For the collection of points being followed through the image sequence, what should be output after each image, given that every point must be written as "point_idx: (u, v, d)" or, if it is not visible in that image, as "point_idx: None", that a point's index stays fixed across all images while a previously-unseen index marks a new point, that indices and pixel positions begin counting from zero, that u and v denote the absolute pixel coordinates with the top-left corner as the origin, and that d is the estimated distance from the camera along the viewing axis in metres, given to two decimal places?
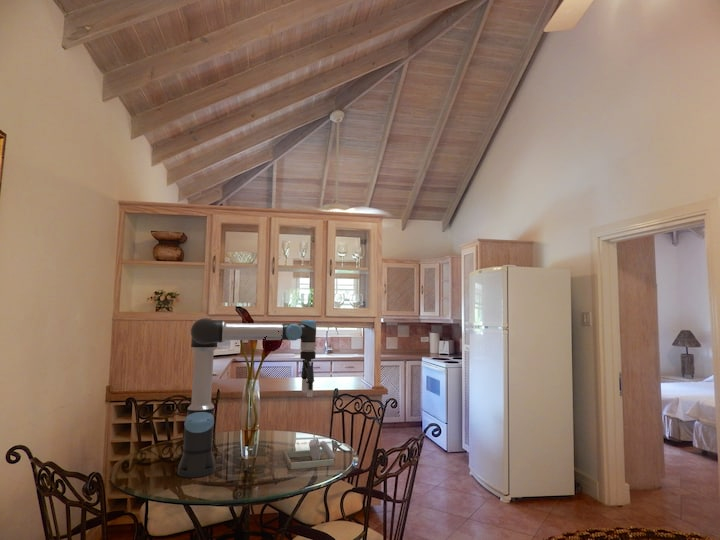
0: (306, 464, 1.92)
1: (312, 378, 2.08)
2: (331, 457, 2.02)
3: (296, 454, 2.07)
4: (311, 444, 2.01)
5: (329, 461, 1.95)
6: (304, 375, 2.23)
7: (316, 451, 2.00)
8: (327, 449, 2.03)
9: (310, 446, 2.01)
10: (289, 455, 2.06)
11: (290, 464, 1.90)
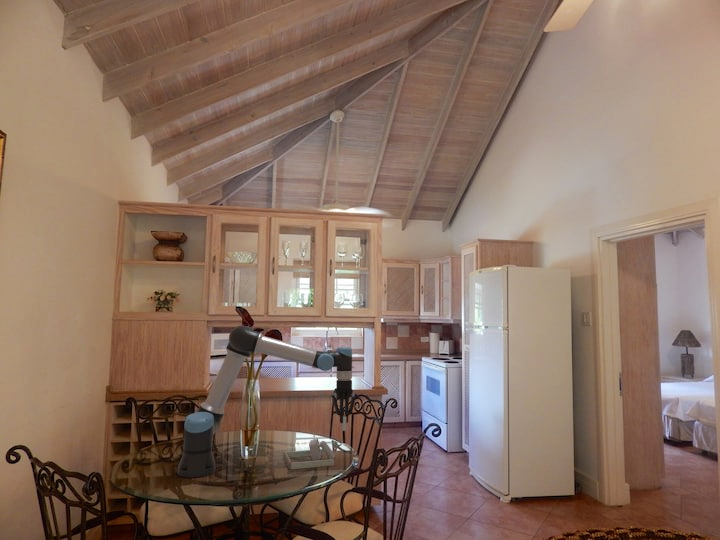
0: (306, 464, 1.92)
1: (336, 412, 2.08)
2: (331, 457, 2.02)
3: (296, 454, 2.07)
4: (311, 444, 2.01)
5: (329, 461, 1.95)
6: (345, 409, 2.10)
7: (316, 451, 2.00)
8: (327, 449, 2.03)
9: (310, 446, 2.01)
10: (289, 455, 2.06)
11: (290, 464, 1.90)
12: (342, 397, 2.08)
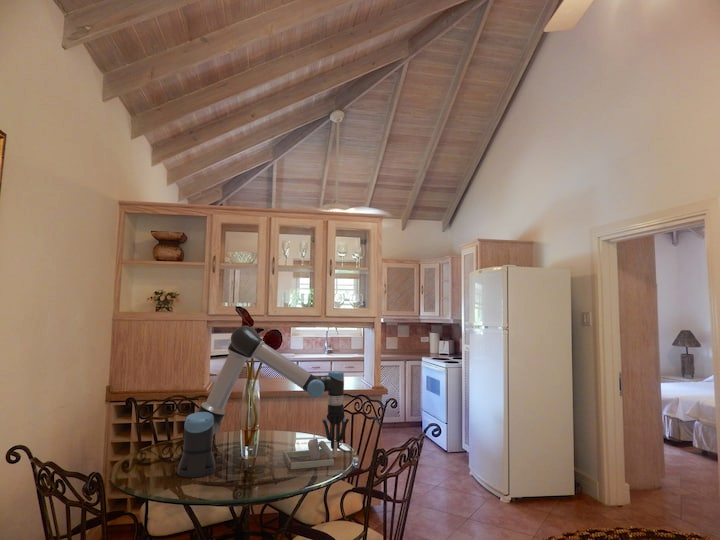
0: (306, 464, 1.92)
1: (327, 437, 2.05)
2: (330, 457, 2.02)
3: (296, 454, 2.07)
4: (310, 444, 2.01)
5: (329, 461, 1.95)
6: (336, 434, 2.08)
7: (315, 451, 2.00)
8: (326, 449, 2.03)
9: (309, 446, 2.01)
10: (289, 455, 2.06)
11: (290, 464, 1.90)
12: (333, 422, 2.06)
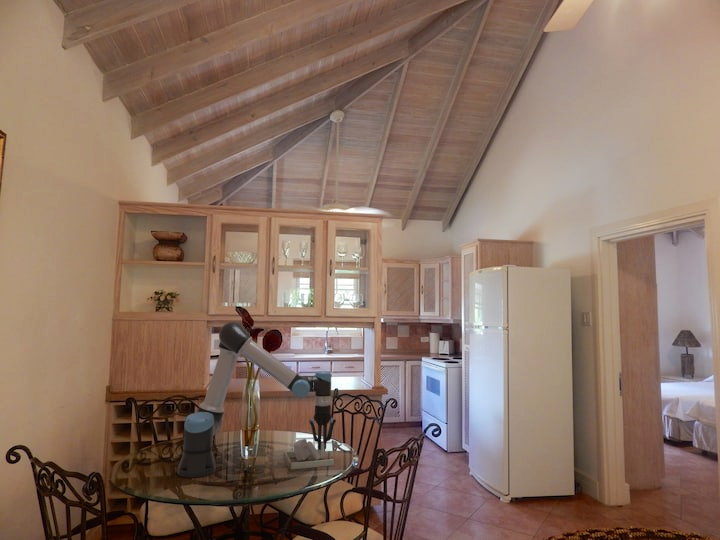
0: (306, 464, 1.92)
1: (314, 438, 2.03)
2: (316, 458, 2.00)
3: None
4: (296, 444, 2.01)
5: (329, 461, 1.95)
6: (323, 435, 2.06)
7: (300, 451, 2.00)
8: (312, 450, 2.01)
9: (295, 446, 2.01)
10: (289, 455, 2.06)
11: (290, 464, 1.90)
12: (320, 423, 2.04)
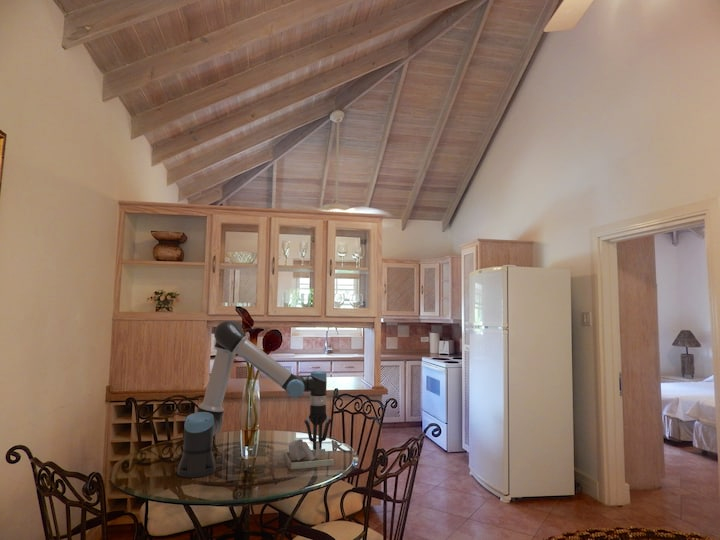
0: (306, 464, 1.92)
1: (309, 438, 2.03)
2: (310, 459, 1.99)
3: None
4: (290, 444, 2.01)
5: (329, 461, 1.95)
6: (318, 435, 2.05)
7: (294, 451, 2.00)
8: (306, 450, 2.00)
9: (289, 446, 2.01)
10: (289, 455, 2.06)
11: (290, 464, 1.90)
12: (315, 423, 2.03)
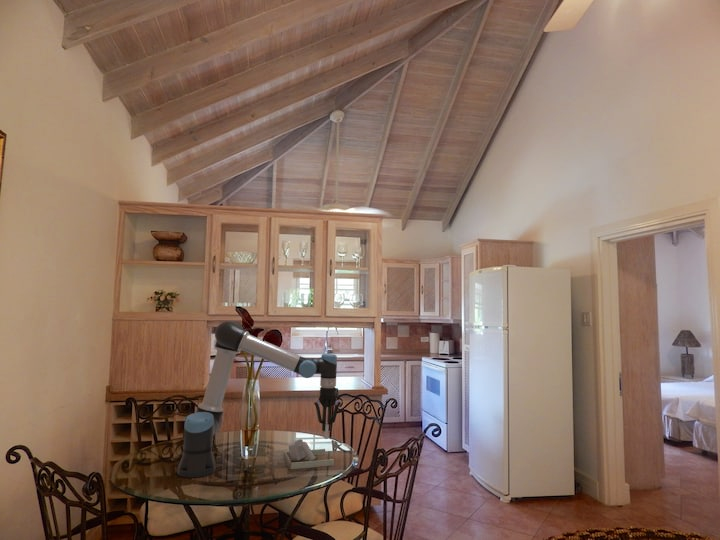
0: (306, 464, 1.92)
1: (319, 419, 2.05)
2: (310, 459, 1.99)
3: None
4: (290, 444, 2.01)
5: (329, 461, 1.95)
6: (328, 417, 2.07)
7: (294, 451, 2.00)
8: (306, 450, 2.00)
9: (289, 446, 2.01)
10: (289, 455, 2.06)
11: (290, 464, 1.90)
12: (325, 405, 2.05)
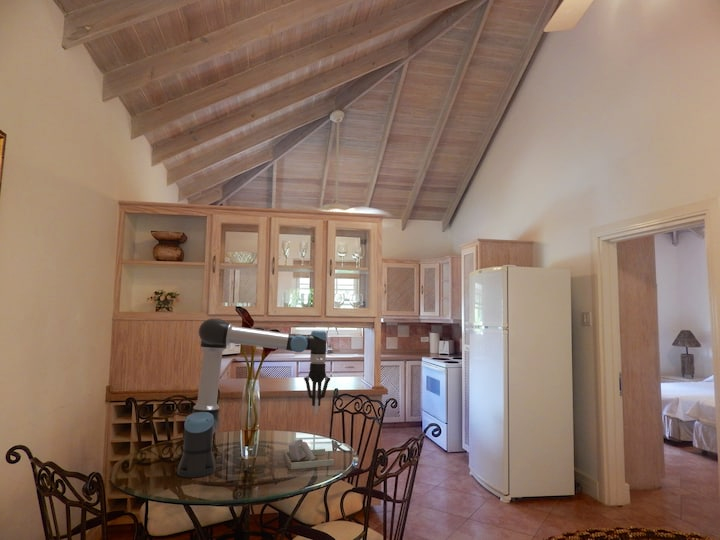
0: (306, 464, 1.92)
1: (308, 394, 2.09)
2: (310, 459, 1.99)
3: None
4: (290, 444, 2.01)
5: (329, 461, 1.95)
6: None
7: (294, 451, 2.00)
8: (306, 450, 2.00)
9: (289, 446, 2.01)
10: (289, 455, 2.06)
11: (290, 464, 1.90)
12: (315, 380, 2.09)
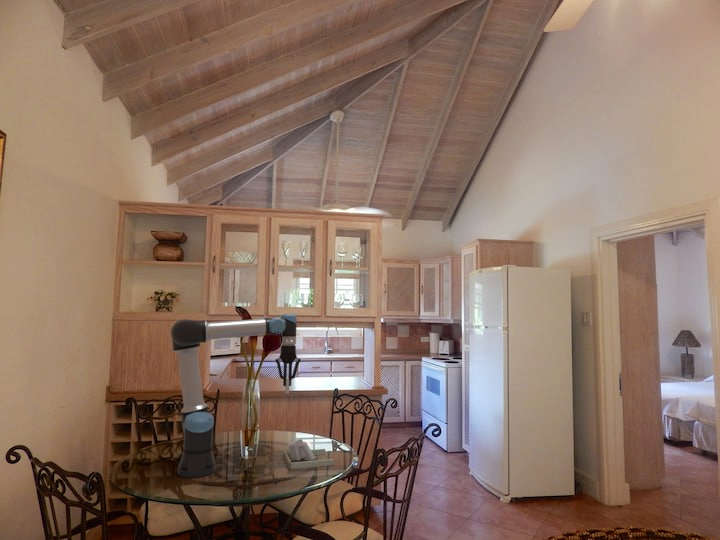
0: (306, 464, 1.92)
1: (279, 375, 2.17)
2: (310, 459, 1.99)
3: None
4: (290, 444, 2.01)
5: (329, 461, 1.95)
6: None
7: (294, 451, 2.00)
8: (306, 450, 2.00)
9: (289, 446, 2.01)
10: (289, 455, 2.06)
11: (290, 464, 1.90)
12: (285, 361, 2.18)
